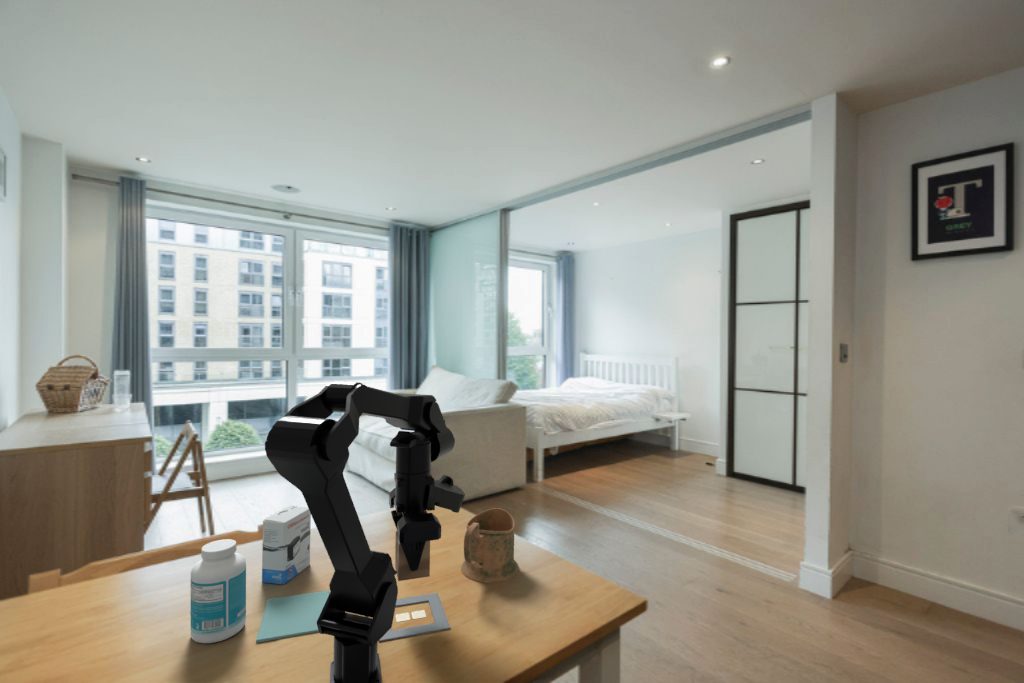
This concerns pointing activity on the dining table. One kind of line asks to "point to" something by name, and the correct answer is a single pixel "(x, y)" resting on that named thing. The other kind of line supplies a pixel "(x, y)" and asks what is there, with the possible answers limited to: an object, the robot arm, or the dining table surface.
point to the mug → (490, 547)
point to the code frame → (437, 612)
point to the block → (404, 568)
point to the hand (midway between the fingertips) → (412, 563)
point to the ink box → (286, 544)
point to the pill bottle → (218, 592)
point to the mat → (291, 616)
